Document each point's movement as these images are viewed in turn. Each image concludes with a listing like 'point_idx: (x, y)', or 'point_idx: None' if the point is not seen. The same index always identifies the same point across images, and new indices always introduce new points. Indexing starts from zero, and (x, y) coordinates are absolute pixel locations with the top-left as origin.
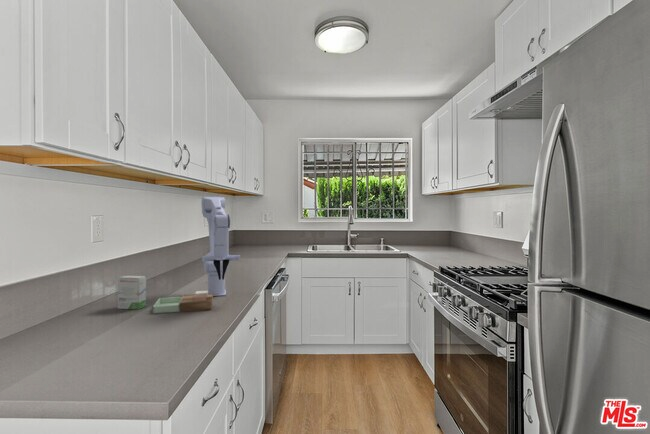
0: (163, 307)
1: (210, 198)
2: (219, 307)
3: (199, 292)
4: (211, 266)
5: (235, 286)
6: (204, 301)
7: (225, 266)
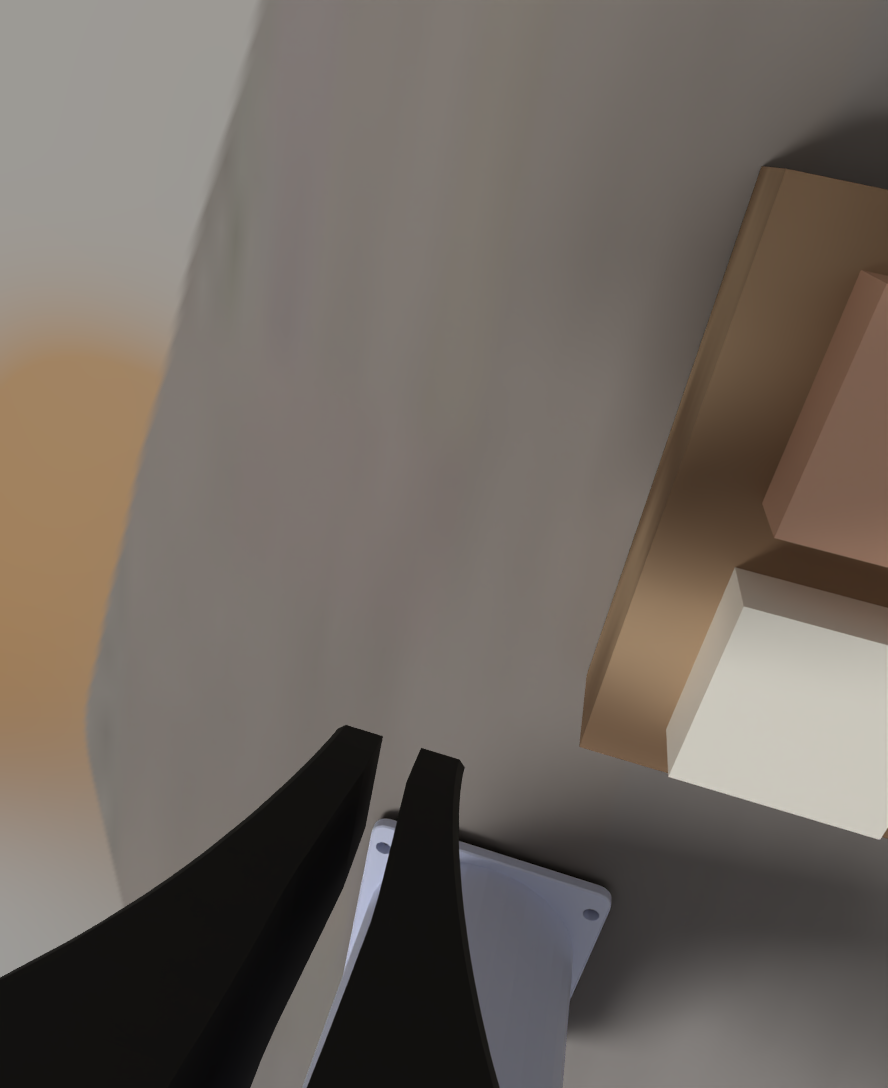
0: None
1: None
2: (586, 263)
3: (863, 727)
4: None
5: None
6: None
7: (83, 990)
